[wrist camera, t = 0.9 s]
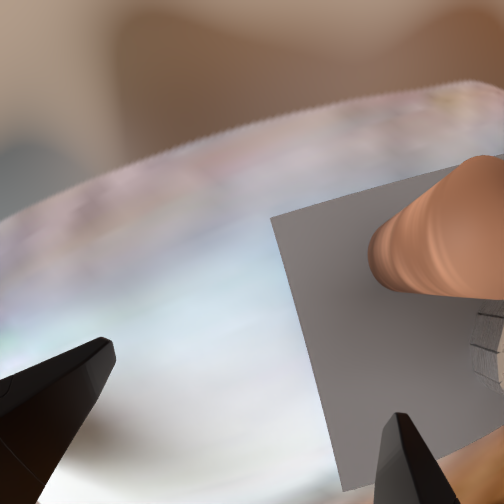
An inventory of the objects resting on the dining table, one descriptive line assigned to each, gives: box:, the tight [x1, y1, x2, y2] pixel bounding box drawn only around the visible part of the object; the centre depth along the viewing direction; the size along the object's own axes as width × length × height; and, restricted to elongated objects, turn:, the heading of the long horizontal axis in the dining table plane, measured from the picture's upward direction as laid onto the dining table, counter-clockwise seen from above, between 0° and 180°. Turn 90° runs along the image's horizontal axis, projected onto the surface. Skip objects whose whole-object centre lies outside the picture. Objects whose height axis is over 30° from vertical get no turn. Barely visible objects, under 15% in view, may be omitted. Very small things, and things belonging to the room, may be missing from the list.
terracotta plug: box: [368, 155, 504, 300], centre depth 14 cm, size 5×5×12 cm
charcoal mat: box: [270, 154, 504, 492], centre depth 19 cm, size 22×24×1 cm
